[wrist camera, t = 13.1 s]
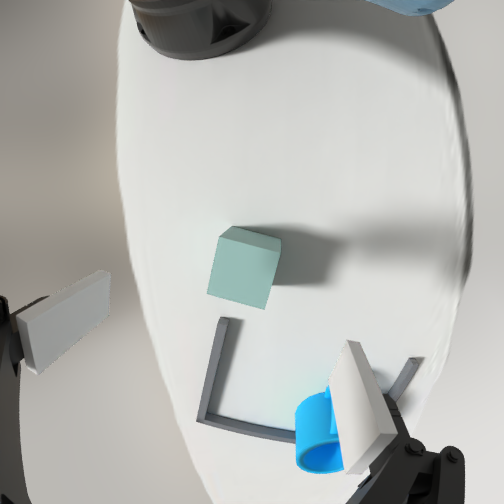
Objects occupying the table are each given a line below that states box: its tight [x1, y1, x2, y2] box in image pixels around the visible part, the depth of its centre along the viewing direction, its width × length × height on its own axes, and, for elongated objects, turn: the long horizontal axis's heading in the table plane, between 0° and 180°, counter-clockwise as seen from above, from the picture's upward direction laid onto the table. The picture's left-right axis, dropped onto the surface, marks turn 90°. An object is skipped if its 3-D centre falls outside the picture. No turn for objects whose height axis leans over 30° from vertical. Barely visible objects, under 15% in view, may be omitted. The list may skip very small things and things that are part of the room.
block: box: [207, 226, 281, 310], centre depth 26 cm, size 5×5×6 cm
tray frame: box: [196, 317, 419, 444], centre depth 31 cm, size 17×25×2 cm
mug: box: [295, 385, 344, 474], centre depth 28 cm, size 12×8×8 cm
